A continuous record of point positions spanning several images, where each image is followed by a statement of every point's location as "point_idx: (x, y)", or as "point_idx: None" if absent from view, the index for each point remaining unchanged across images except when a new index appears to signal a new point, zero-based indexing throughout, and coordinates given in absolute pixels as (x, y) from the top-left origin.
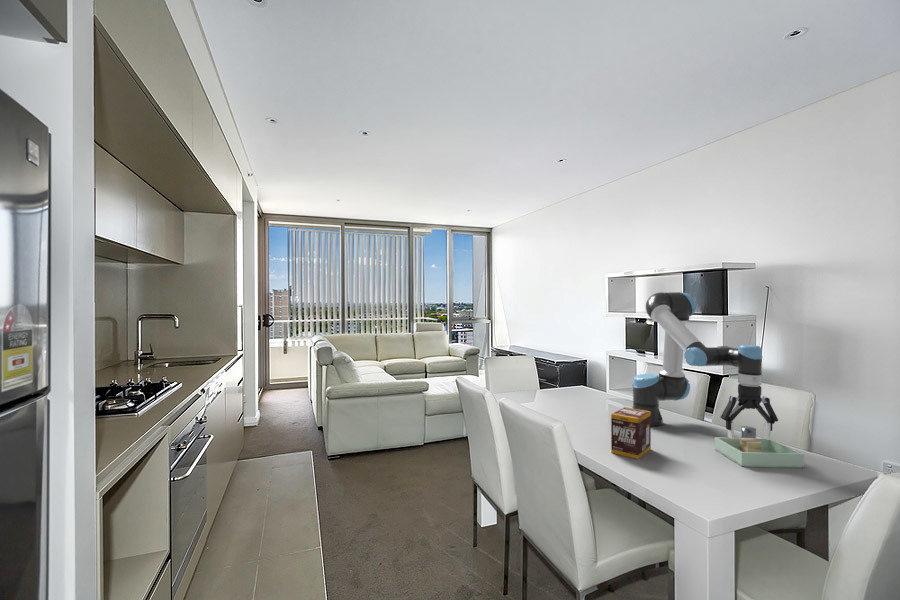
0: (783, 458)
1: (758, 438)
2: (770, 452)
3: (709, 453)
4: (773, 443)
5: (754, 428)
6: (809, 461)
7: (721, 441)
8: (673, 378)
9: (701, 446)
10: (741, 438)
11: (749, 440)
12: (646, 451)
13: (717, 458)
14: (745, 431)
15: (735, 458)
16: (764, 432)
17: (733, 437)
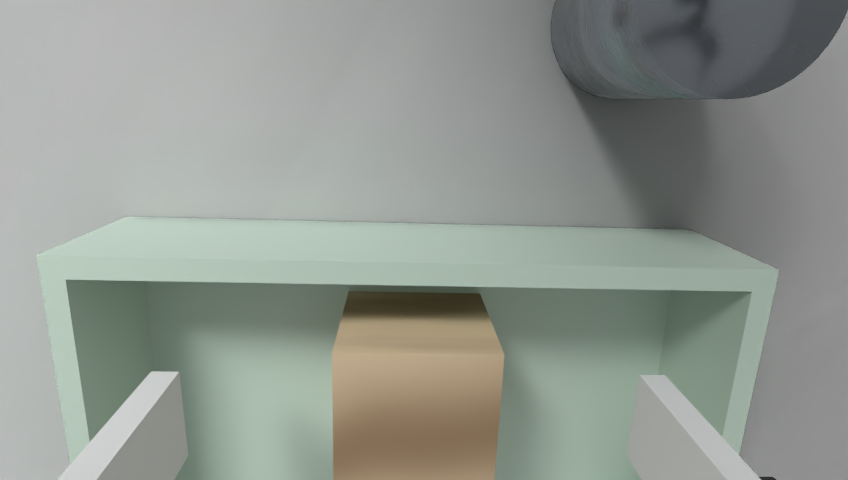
0: None
1: (625, 275)
2: (629, 318)
3: (23, 323)
4: (720, 343)
5: (825, 14)
6: (806, 460)
7: (62, 403)
8: None
9: (18, 108)
10: (352, 354)
11: (407, 424)
12: None
13: (47, 442)
14: (625, 47)
15: None
16: (676, 438)
17: (175, 470)
